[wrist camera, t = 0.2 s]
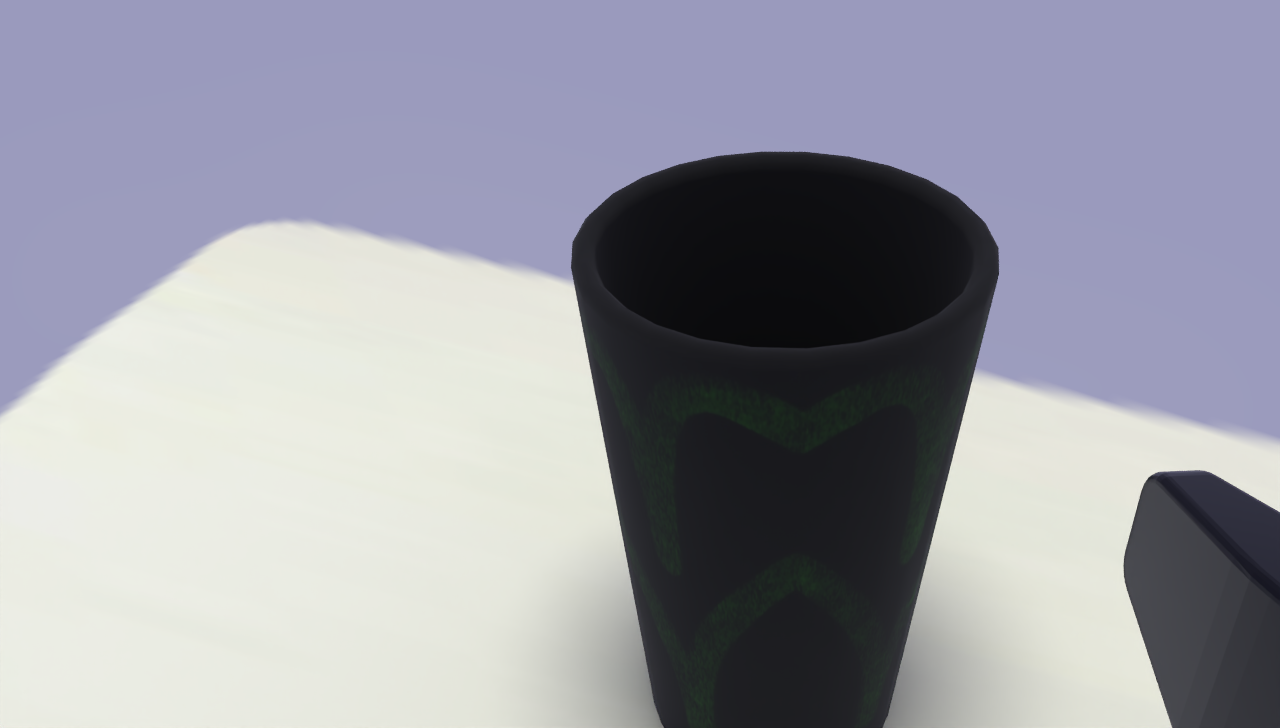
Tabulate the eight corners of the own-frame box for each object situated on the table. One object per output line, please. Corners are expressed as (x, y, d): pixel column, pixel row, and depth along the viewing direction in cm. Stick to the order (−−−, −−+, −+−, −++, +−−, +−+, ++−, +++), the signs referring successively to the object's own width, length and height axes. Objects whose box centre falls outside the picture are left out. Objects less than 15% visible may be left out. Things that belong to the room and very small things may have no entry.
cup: (609, 577, 32) (577, 158, 25) (900, 564, 32) (945, 140, 25) (608, 835, 26) (563, 369, 19) (970, 820, 26) (1055, 347, 19)
